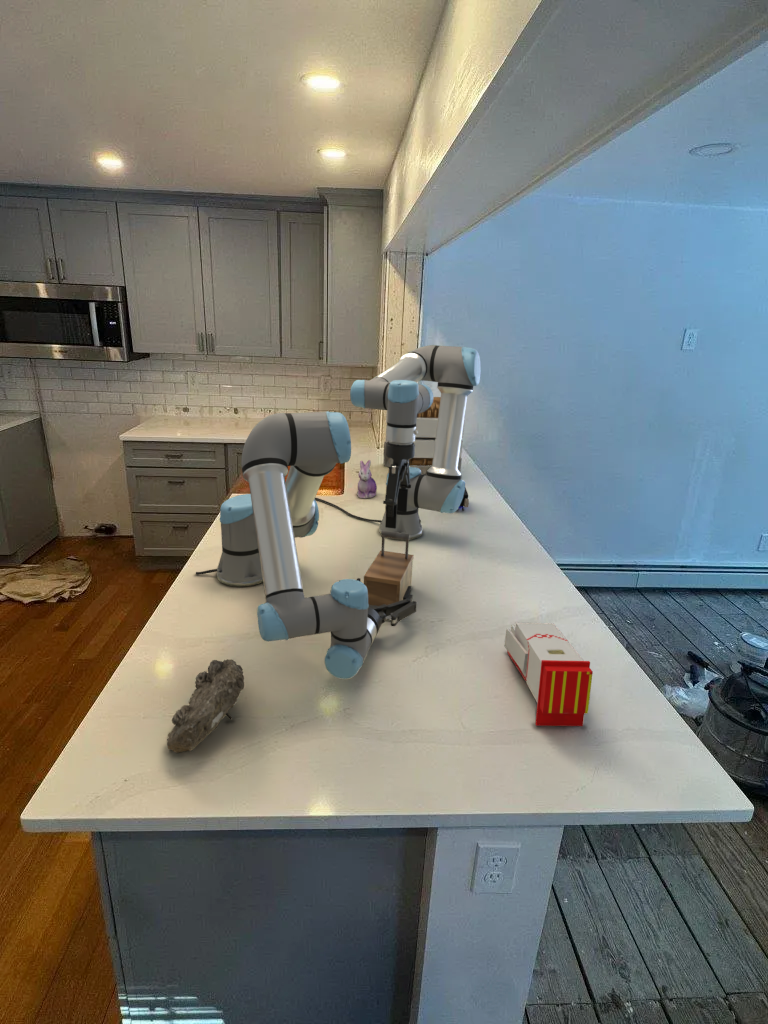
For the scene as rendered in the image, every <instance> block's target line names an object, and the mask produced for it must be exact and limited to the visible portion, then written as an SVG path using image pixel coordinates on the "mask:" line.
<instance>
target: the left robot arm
mask: <svg viewBox="0 0 768 1024" xmlns="http://www.w3.org/2000/svg"><path fill="white" fill-rule="evenodd" d="M348 423H349V422H348V420H347V419H346V416H345V415H344V413H341V412H338V411H337V412H336V411H329V410H327V411H313V412H312V411H311V412H277V413H273V414H270V415H268V416H265V417H264V418H262V419H261V420H260V421H259V422H257V423H256V424H255V426H254V427H253V428H252V430H251V431H250V433H249V434H248V435H247V438H246V440H245V442H244V445H243V449H242V453H241V465H240V467H241V473H242V478H243V480H244V481H246V482H247V483H248V486H249V487H248V488H249V493H245V494H237V495H235V496H233V497H232V496H231V497H230V498H228V499H226V500H224V502H222V504H221V505H220V508H219V522H220V535H221V554H220V559H219V562H218V565H217V567H216V568H213V569H207V570H202V571H196V572H195V575H196V576H199V575H201V576H202V575H205V574H206V575H207V574H210V573H216V578H217V580H218V581H219V582H220V583H221V584H223V585H225V586H230V587H236V588H237V587H239V588H241V587H242V588H243V587H253V586H256V585H259V584H262V583H263V587H264V588H263V589H264V596H265V602H264V603H260V604H259V605H257V609H256V616H257V617H256V618H257V626H258V631H259V635H260V637H261V639H262V640H263V641H265V642H277V641H289V640H290V639H295V638H301V637H306V636H307V637H308V636H312V635H318V634H319V635H320V634H326V633H330V646H329V647H328V648H327V651H326V654H325V656H324V665H325V669H326V670H327V671H328V673H329V674H330V675H331V676H333V677H334V678H337V679H341V680H349V679H352V678H353V677H355V676H356V675H357V674H358V672H359V670H360V669H361V668H362V667H363V665H364V661H365V660H366V658H367V655H368V653H369V651H370V649H371V647H372V645H373V644H374V643H373V642H374V640H375V638H376V637H377V635H378V633H379V631H380V629H381V628H382V624H384V623H385V622H386V623H389V624H390V626H391V627H396V626H397V624H398V623H400V622H401V621H402V620H405V619H406V618H408V617H410V616H411V615H413V614H415V613H416V612H417V607H418V603H417V602H418V601H416V600H413V594H412V585H411V586H408V588H407V590H406V592H405V594H404V597H403V600H401V601H398V602H395V603H392V604H389V605H386V604H383V605H380V606H376V605H369V604H368V590H367V587H366V586H365V585H364V582H362V581H361V578H360V577H357V579H354V578H344V579H340V580H338V581H335V582H334V583H333V584H332V585H331V589H330V592H329V593H327V594H319V595H313V596H305V593H304V586H303V585H304V584H303V581H302V580H303V579H302V574H301V567H300V562H299V561H300V560H299V556H298V550H297V545H296V544H297V543H296V538H299V539H301V538H305V537H310V536H312V535H314V534H315V533H316V531H317V530H318V527H319V521H320V511H319V506H318V502H317V500H315V498H317V497H316V496H317V494H318V492H319V489H320V487H321V484H322V482H323V480H324V478H325V476H327V475H329V474H331V472H332V471H334V469H335V467H336V465H337V464H341V465H342V464H346V463H348V462H349V461H350V459H351V456H352V438H351V432H350V427H349V424H348Z"/></svg>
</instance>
